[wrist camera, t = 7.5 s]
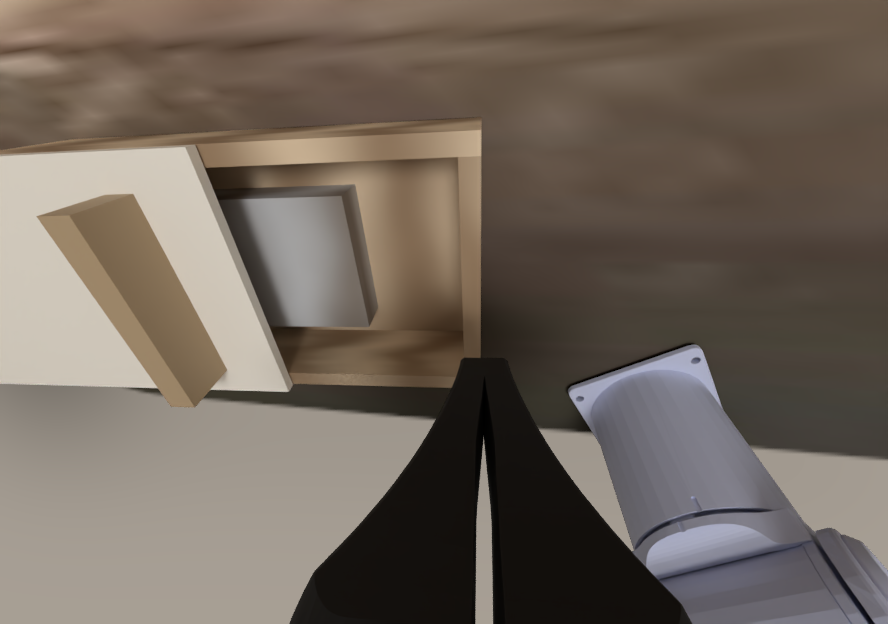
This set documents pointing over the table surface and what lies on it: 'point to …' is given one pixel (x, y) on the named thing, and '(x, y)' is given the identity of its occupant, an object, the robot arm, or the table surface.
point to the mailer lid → (126, 277)
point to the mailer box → (351, 241)
